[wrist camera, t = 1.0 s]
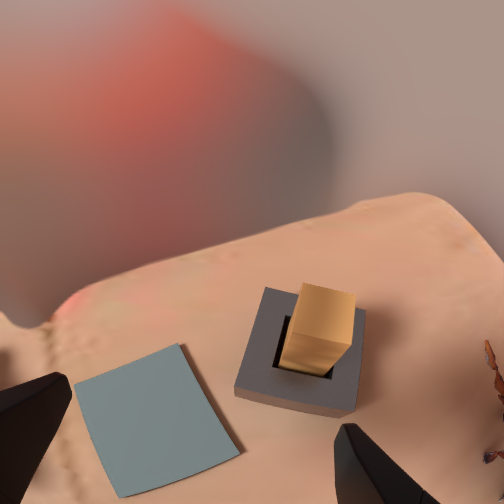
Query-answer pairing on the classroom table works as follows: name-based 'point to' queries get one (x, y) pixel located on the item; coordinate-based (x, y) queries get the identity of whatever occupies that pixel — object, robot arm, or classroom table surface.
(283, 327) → the socket block
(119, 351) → the classroom table surface
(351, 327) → the peg
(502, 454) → the toy dinosaur
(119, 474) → the pad
